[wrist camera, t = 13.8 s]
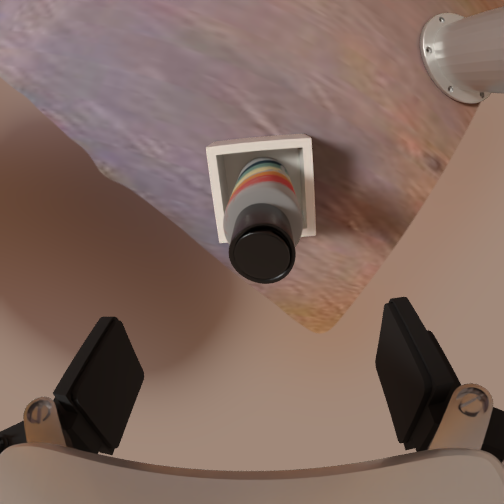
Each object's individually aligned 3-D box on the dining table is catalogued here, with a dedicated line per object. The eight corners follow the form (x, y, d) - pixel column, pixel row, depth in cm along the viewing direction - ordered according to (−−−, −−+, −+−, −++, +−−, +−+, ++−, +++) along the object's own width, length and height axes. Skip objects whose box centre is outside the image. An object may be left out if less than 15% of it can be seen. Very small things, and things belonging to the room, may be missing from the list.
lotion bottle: (299, 180, 35) (334, 258, 17) (264, 213, 37) (262, 317, 19) (263, 145, 34) (260, 187, 16) (229, 180, 36) (190, 259, 18)
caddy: (303, 133, 34) (311, 137, 29) (308, 217, 38) (315, 235, 33) (215, 141, 35) (205, 147, 29) (226, 223, 39) (219, 243, 34)
